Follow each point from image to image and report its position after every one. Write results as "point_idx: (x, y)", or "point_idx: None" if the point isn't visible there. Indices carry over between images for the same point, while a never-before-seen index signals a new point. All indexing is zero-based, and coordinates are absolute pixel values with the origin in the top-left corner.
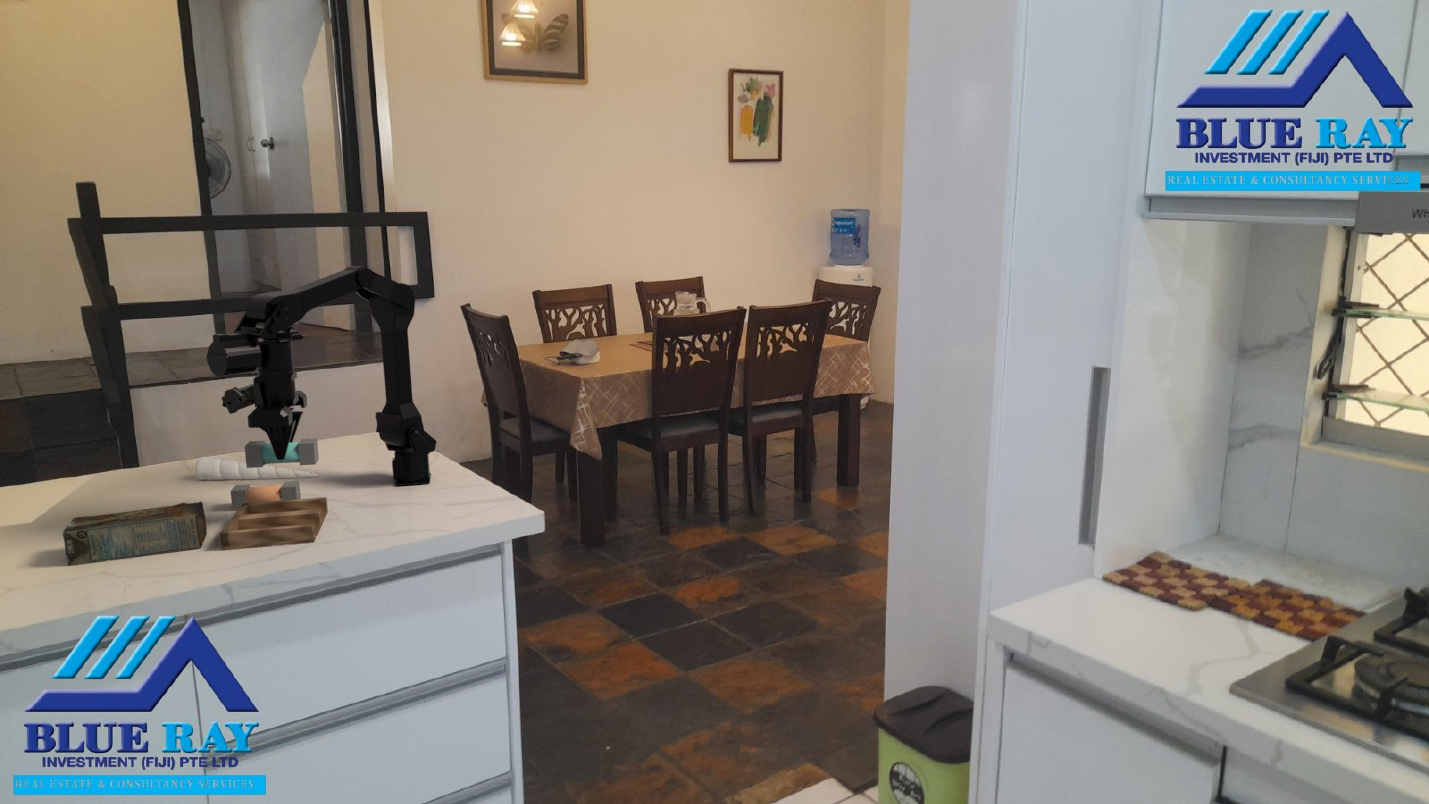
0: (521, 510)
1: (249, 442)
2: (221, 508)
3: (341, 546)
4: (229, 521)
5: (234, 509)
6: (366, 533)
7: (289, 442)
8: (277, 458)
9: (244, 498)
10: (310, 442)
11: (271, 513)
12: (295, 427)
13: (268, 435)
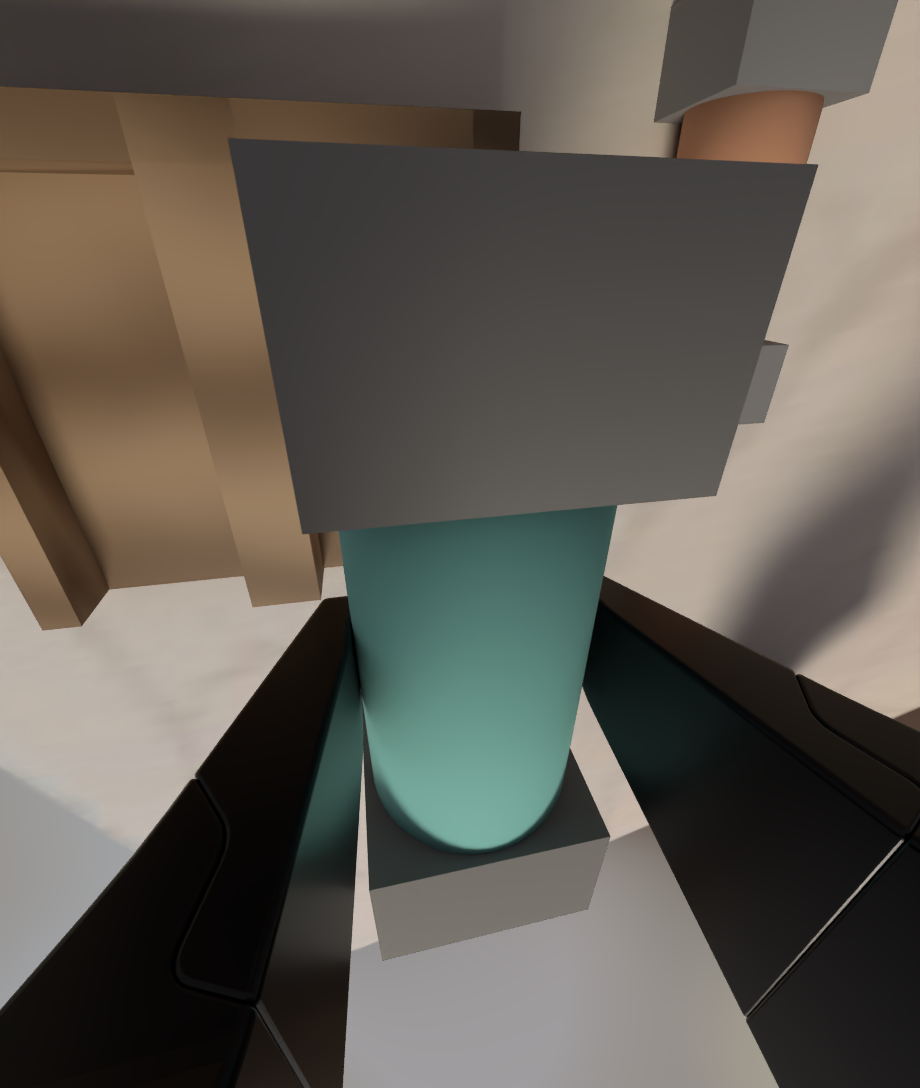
0: (369, 936)
1: (694, 188)
2: None
3: (46, 680)
4: (79, 94)
5: (674, 18)
6: (202, 714)
7: (610, 727)
8: (317, 611)
9: (699, 87)
10: (423, 935)
11: (264, 380)
12: (727, 971)
13: (7, 1013)
